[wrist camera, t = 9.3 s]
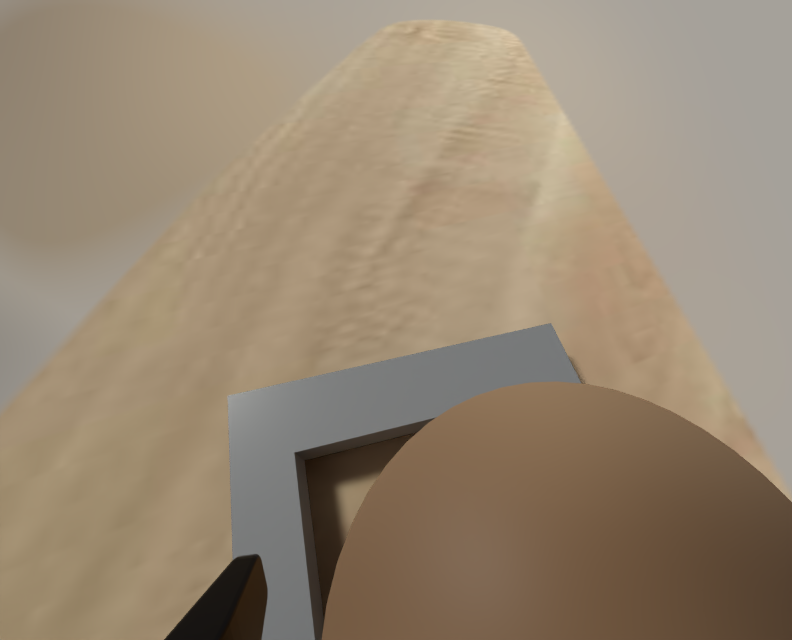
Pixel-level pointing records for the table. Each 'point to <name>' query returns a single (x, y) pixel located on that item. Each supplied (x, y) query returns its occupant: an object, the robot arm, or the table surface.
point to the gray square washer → (349, 446)
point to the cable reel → (565, 529)
